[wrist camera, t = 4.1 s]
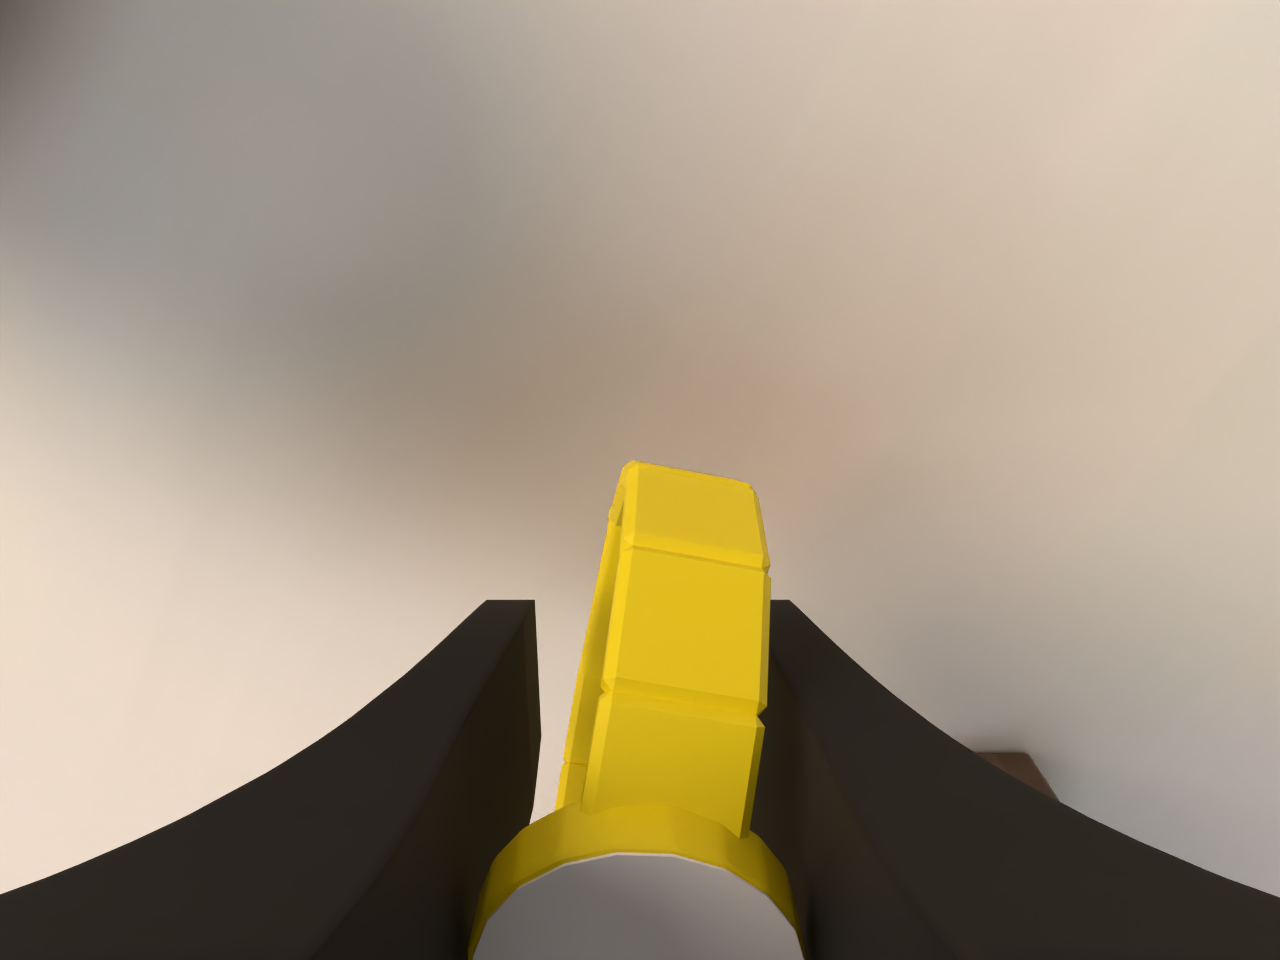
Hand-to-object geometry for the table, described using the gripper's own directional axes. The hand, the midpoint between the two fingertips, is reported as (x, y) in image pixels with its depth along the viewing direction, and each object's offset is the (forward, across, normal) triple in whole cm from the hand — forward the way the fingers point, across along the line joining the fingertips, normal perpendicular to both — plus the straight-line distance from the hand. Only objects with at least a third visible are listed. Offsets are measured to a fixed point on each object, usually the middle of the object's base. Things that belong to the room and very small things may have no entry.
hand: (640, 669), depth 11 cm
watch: (+2, 0, 0) cm, 2 cm away
